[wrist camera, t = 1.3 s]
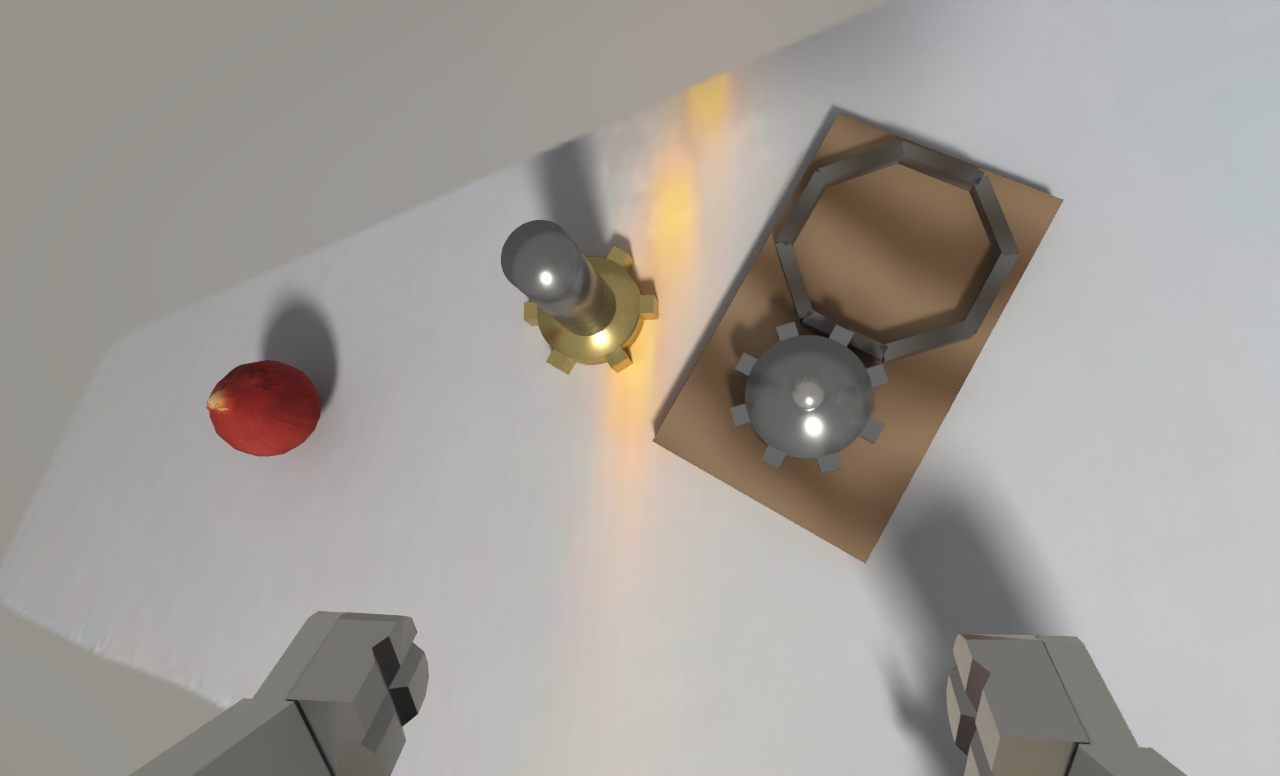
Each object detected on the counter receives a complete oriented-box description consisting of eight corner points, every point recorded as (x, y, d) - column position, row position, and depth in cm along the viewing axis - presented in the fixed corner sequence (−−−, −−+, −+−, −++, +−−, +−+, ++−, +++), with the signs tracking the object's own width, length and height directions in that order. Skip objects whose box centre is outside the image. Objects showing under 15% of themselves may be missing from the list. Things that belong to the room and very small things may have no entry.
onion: (270, 382, 48) (168, 354, 40) (345, 367, 47) (255, 336, 39) (270, 466, 46) (166, 455, 39) (348, 453, 45) (256, 439, 38)
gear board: (838, 124, 42) (839, 103, 40) (1055, 209, 38) (1070, 191, 36) (656, 443, 41) (648, 439, 39) (863, 562, 37) (867, 564, 35)
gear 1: (577, 233, 45) (516, 154, 35) (678, 283, 43) (643, 214, 33) (513, 343, 44) (433, 293, 35) (612, 399, 42) (556, 363, 33)
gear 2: (777, 308, 40) (775, 290, 37) (911, 373, 37) (921, 360, 34) (707, 431, 39) (700, 423, 36) (839, 504, 37) (843, 502, 34)
